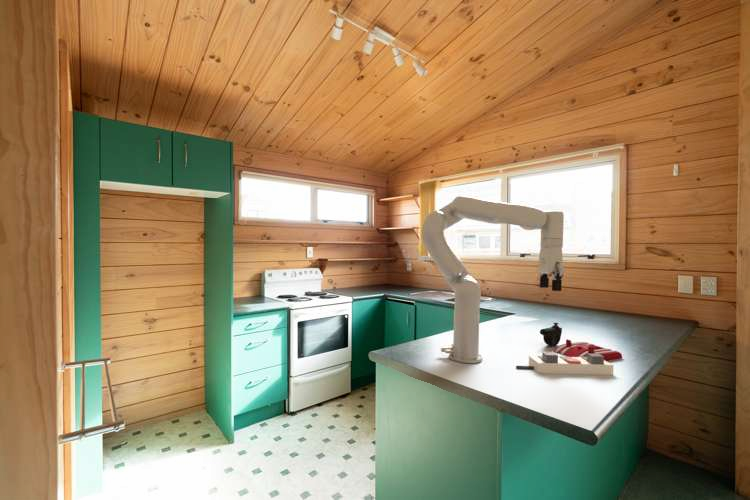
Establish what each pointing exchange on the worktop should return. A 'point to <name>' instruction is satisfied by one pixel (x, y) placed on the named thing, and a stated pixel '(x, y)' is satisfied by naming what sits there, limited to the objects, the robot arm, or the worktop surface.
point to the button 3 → (595, 358)
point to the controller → (551, 334)
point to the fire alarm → (586, 350)
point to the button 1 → (549, 357)
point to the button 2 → (572, 361)
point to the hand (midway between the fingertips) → (550, 289)
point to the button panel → (568, 366)
